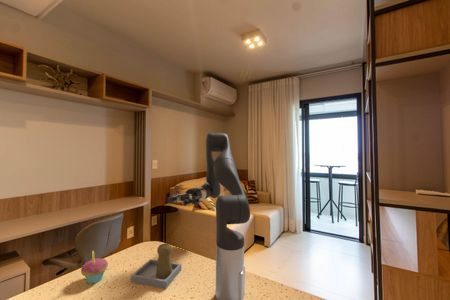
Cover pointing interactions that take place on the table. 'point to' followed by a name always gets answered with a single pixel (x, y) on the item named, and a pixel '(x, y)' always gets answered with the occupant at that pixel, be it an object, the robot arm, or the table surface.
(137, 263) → the table surface
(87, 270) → the cupcake
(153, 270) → the gray tray
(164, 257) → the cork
